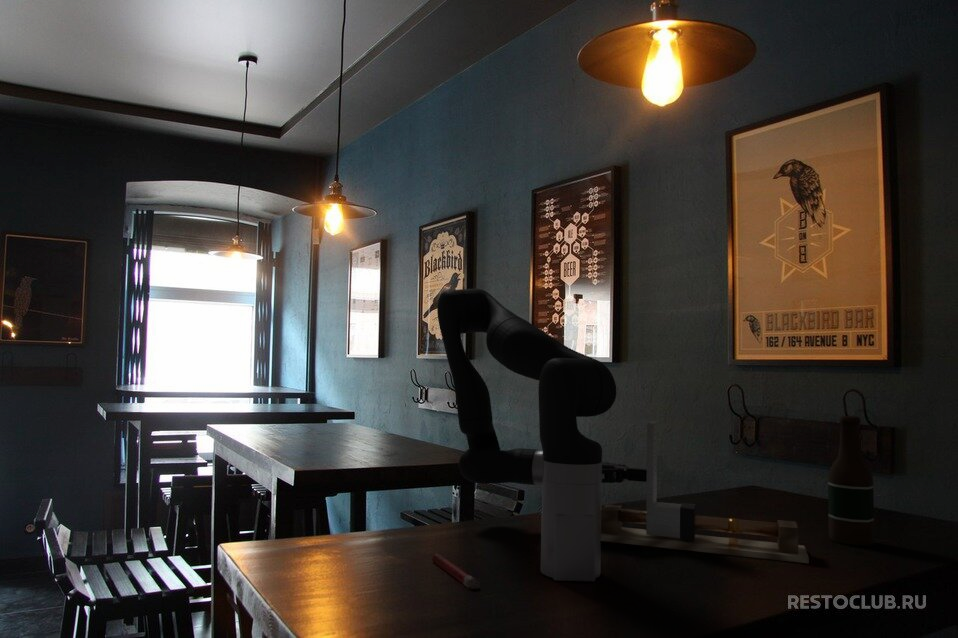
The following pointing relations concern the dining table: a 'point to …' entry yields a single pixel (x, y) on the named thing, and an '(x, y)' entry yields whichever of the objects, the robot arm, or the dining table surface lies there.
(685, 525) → the ring
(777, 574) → the dining table surface
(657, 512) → the grey l-shaped bracket
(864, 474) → the beer bottle
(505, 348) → the robot arm
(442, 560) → the flare
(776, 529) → the pipe
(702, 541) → the pipe stand
